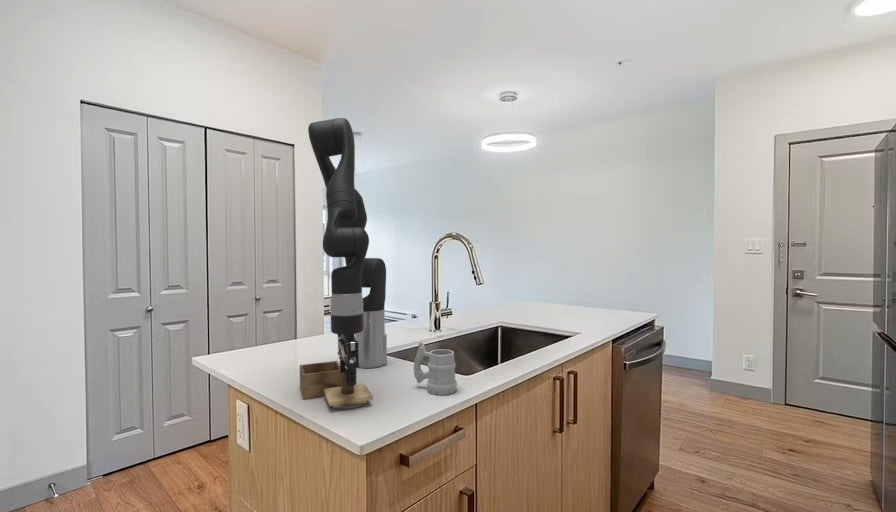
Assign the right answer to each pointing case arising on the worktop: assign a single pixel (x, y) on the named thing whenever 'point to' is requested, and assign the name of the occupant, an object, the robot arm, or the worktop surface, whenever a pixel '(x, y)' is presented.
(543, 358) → the worktop surface
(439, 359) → the mug
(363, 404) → the coaster
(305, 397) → the tea box
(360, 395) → the lid
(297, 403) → the worktop surface
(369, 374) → the worktop surface
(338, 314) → the robot arm
